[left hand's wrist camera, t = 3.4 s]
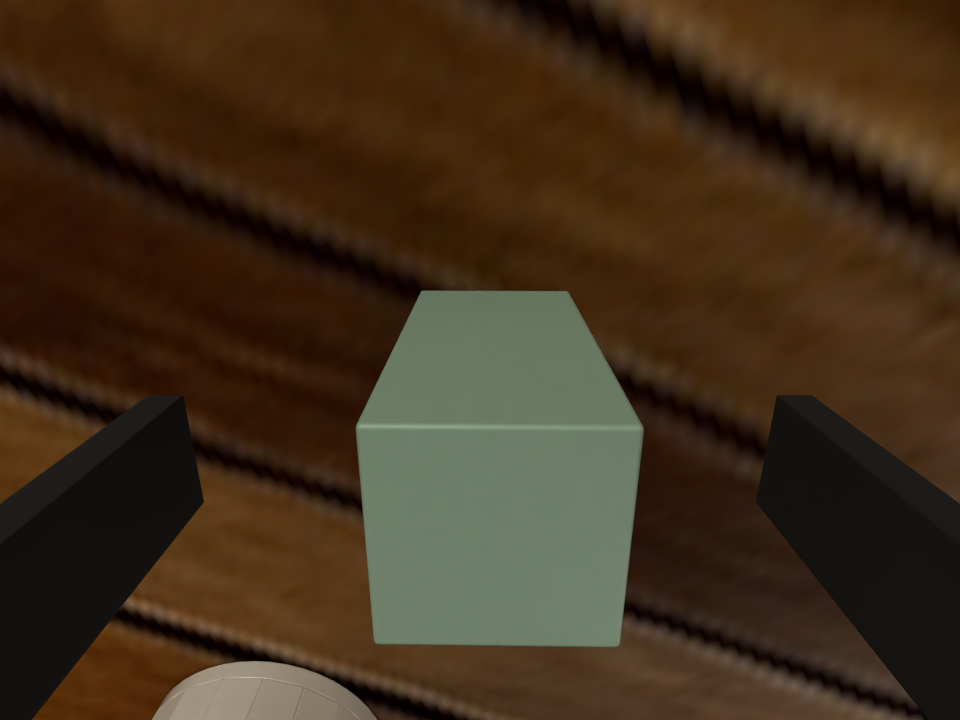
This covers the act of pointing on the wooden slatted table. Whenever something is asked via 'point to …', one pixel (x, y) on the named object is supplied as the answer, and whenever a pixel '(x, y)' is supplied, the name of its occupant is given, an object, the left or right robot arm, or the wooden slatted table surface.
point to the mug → (260, 695)
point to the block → (498, 477)
